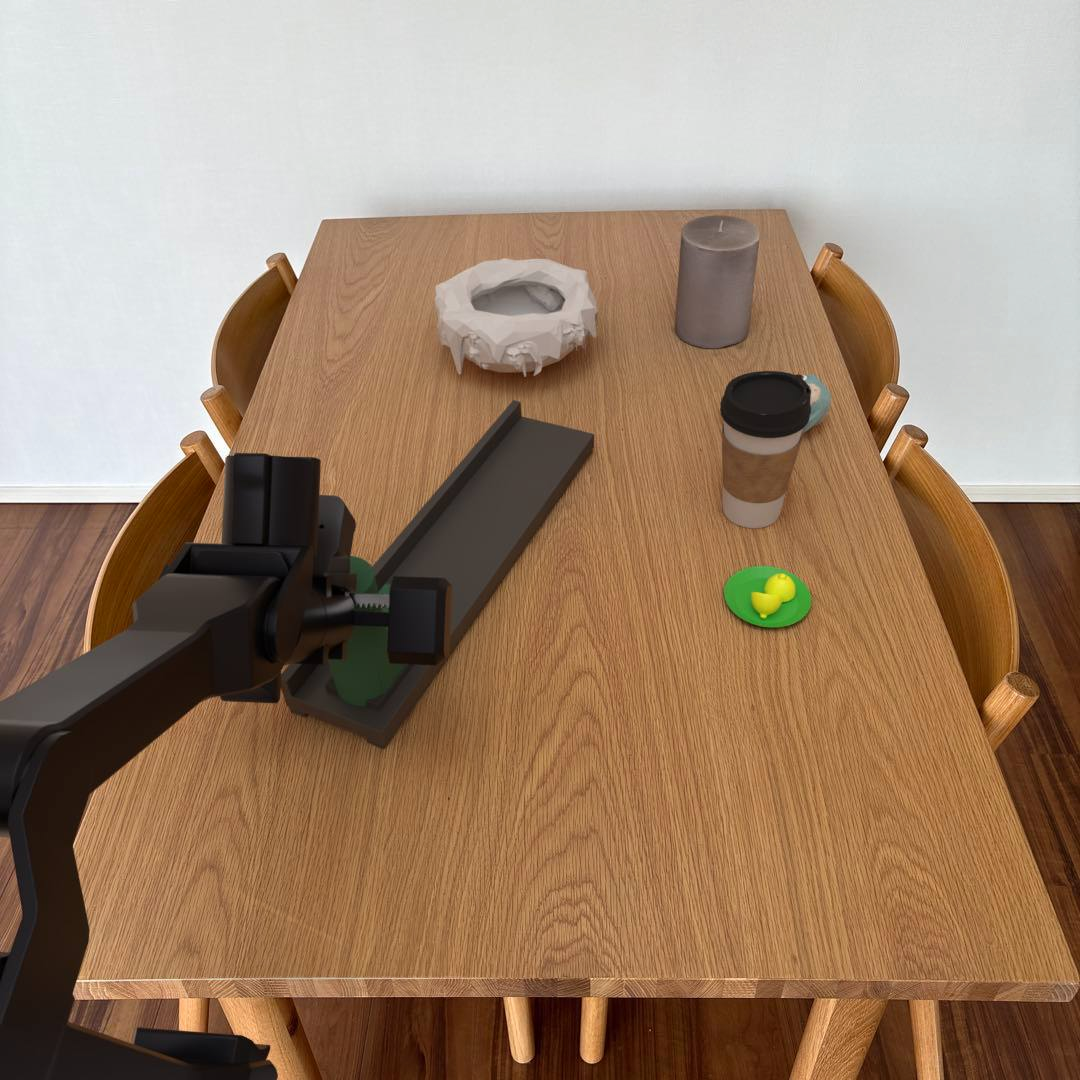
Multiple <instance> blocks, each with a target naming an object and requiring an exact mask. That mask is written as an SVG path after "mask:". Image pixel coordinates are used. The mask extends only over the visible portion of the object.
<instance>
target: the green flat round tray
mask: <svg viewBox="0 0 1080 1080" xmlns="http://www.w3.org/2000/svg"><path fill="white" fill-rule="evenodd" d="M723 595H724V600H725V602H726V604H727V606H728V608H729V609H730V610H731V611H732V613H733V614H735V615H736V616H737V617H738V618H740V619H742V620H743V621H744V622H747V623H749V624H752V625H756V626H759V627H762V628H763V627H765V628H782V627H788V626H791V625H793V624H796V623H798V622H800V621H801V620H802V619H804V617H806V616H807V614H808V612H810V609H811V606H812V596H811V592H810V590H809V588H808V586H807V585H806V583H804V582H803V580H802V579H800V578H799V577H798V576H797V575H795V574H793V573H791V572H789V571H787V570H786V569H783V568H779V567H775V566H767V565H756V566H755V565H754V566H750V567H745V568H743V569H741V570H739V571H737V572H735V573H733V575H732V576H730V577H729V579H728V580H727V581H726V584H725V586H724V593H723Z"/></svg>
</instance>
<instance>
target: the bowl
mask: <svg viewBox="0 0 1080 1080" xmlns="http://www.w3.org/2000/svg"><path fill="white" fill-rule="evenodd" d="M434 287H435V289H434V290H435V291H434V293H435V294H434V298H433V300H434V307H435V310H436V314H437V318H438V321H437V333H438V337H439V341H440V346H441V347H445V346H446V347H448V348H449V349H450V352H451V356H452V359H453V363H454V365H455V368H456V372H457V374H458V375H461V374H462V369H463V364H464V360H465V359H466V360H468V361H470V362H472V363H474V364H475V365H476V366H479V368H480V369H483V370H489V371H492V372H496V373H507V374H508V373H523V376H524V378H525V377H527V373H531V372H533V377H536V375H538V374H539V373H541V371H542V370H543V369H542V368H544V367H547V366H550V365H552V364H555V363H557V362H560V361H561V360H562V359H564V358H565V357H566V356H568V354H570V353H572V352H573V351H574V350H575V349H576V350H578V346H581V347H582V349H584V354H585V356H586V355H587V354H586V353H587V352H586V351H587V347H586V345H587V341H586V340H587V339H586V338H587V337H588V336H590V337H591V338H593V339H595V338H597V327H596V325H599V312H598V307H597V303H596V298H595V295H594V293H593V290H592V289H591V286H590V284H589V278H588V274H587V270H583V269H580V268H579V269H578V268H573V267H570V266H568V265H565V264H563V263H560V262H557V261H554V260H551V259H549V258H528V259H527V258H526V259H517V260H515V259H511V258H506V257H504V258H500V259H492V260H484V261H482V262H480V263H478V264H475V265H474V266H472V267H469V268H467V269H465V270H463V271H461V272H459V273H458V274H456V275H454V276H453V277H451V278H450V279H448V280H446V281H443V282H441V283H439V284H437V285H436V286H434Z"/></svg>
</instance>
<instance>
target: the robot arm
mask: <svg viewBox="0 0 1080 1080" xmlns="http://www.w3.org/2000/svg"><path fill="white" fill-rule="evenodd" d="M321 466H322V460H321V459H320V458H318V457H315V456H314V457H312V456H283V455H282V456H281V455H271V454H268V453H263V452H262V453H261V452H234V454H233V455H226V457H225V458H224V476H223V477H224V481H223V501H222V521H221V522H222V524H221V543H215V542H214V543H213V542H184V544H183V545H182V546H181V548H180V549H179V551H178V552H177V554H176V555H175V556H174V557H173V559H172V561H171V562H170V563H166V564H165V565H164V566H163V569H162V571H161V572H160V575H159V576H158V579H157V581H156V582H154V583H153V585H151V586H150V587H149V588H148V589H147V590H145V592H144V593H142V594H141V595H140V596H139V597H138V598H137V599H136V600H135V601H134V602H132V604H131V606H132V607H131V608H132V617H133V623H131V625H130V626H128V627H127V628H126V629H125V630H123V631H122V632H120V633H118V634H116V635H114V636H113V637H111V638H109V639H108V640H106V641H104V642H102V643H101V644H98V645H97V646H95V647H93V648H92V649H90V650H88V651H86V652H85V653H83V654H81V655H79V656H78V657H76V658H74V659H72V660H71V661H69V662H67V663H65V664H64V665H62V666H60V667H58V668H57V669H55V670H53V671H51V672H49V673H48V674H45V675H44V676H42V677H41V678H39V679H37V680H35V681H34V682H32V683H30V684H29V685H26V686H25V687H23V688H22V689H20V690H18V691H16V692H15V693H13V694H10V695H9V696H7V697H6V698H4V699H2V700H0V838H9V840H10V846H11V852H12V859H13V863H14V871H15V876H16V882H17V890H18V894H19V902H20V906H21V907H20V908H21V913H22V915H21V920H20V923H19V925H18V928H17V931H16V934H15V937H14V939H13V942H12V945H11V947H10V951H9V952H8V951H0V1080H278V1077H279V1074H278V1070H277V1068H276V1066H275V1064H274V1063H273V1062H272V1061H271V1060H270V1059H268V1057H269V1054H270V1053H271V1045H270V1044H262V1043H256V1042H254V1041H253V1039H251V1038H249V1037H247V1036H244V1035H243V1034H232V1033H229V1034H228V1033H218V1032H206V1031H205V1032H204V1031H192V1030H180V1029H166V1028H153V1027H141V1026H136V1028H135V1030H134V1033H133V1034H134V1035H133V1039H132V1043H131V1042H128V1041H125V1040H122V1039H120V1038H117V1037H114V1036H111V1035H108V1034H106V1033H103V1032H100V1031H97V1030H94V1029H91V1028H89V1027H87V1026H83V1025H80V1024H77V1023H74V1022H70V1021H69V1020H70V1018H71V1014H72V1010H73V1008H74V1004H75V1002H76V997H75V995H74V994H73V993H74V991H75V987H76V984H77V982H78V978H79V975H80V972H81V969H82V965H83V962H84V958H85V956H86V953H87V952H86V951H87V950H88V949H87V948H88V946H89V943H90V929H91V928H90V923H89V920H88V919H89V918H88V914H87V909H86V903H85V900H84V895H83V894H84V893H83V889H82V883H81V879H80V873H79V869H78V864H77V860H76V854H75V850H74V844H75V840H76V837H77V833H78V830H79V828H80V825H81V822H82V819H83V816H84V812H85V810H86V807H87V805H88V801H89V797H90V795H91V794H93V793H94V792H95V791H96V790H98V789H99V788H100V787H101V786H102V785H104V784H105V783H106V782H107V781H108V780H110V778H112V777H113V776H114V775H116V774H117V773H118V772H120V770H121V769H123V768H124V767H125V766H126V765H128V763H130V762H131V761H132V760H133V759H134V758H136V757H137V756H138V755H140V753H142V752H143V751H144V750H145V749H147V748H148V747H149V746H150V745H151V744H153V743H154V742H155V741H156V740H158V739H159V738H160V737H161V736H162V735H163V734H164V733H166V732H167V731H168V730H169V729H171V728H172V727H173V726H174V725H175V724H176V723H178V722H179V721H180V720H181V719H182V718H184V717H185V716H186V715H188V714H189V713H190V712H191V711H192V710H193V709H195V708H196V707H197V706H198V705H200V703H203V702H205V701H208V700H209V699H213V698H220V700H221V701H222V702H228V703H229V702H231V703H250V704H251V703H254V704H271V705H272V704H275V705H276V704H279V702H280V700H281V692H282V690H281V674H282V671H283V668H284V666H288V665H289V664H292V663H296V664H317V665H324V664H328V659H338V660H343V659H346V658H347V640H348V639H349V638H350V636H351V635H352V632H353V630H354V626H355V625H356V626H379V627H388V642H387V653H388V658H389V662H390V663H392V664H414V665H439V664H441V663H442V662H443V661H444V660H446V659H447V658H448V657H449V658H450V656H449V651H450V626H451V601H452V585H451V584H450V583H449V582H448V581H447V580H446V579H445V578H434V577H407V576H393V580H392V583H391V587H390V595H389V594H363V593H349V592H356V584H357V574H350V556H352V555H351V554H352V550H353V549H352V548H353V543H354V535H355V532H356V528H357V521H356V519H355V517H354V516H353V514H352V512H351V510H350V509H349V508H348V507H347V505H346V503H345V502H344V500H343V499H342V498H341V497H340V496H337V495H332V494H331V495H329V494H320V492H321V491H320V490H321ZM358 604H359V606H360V608H362V607H363V605H365V608H368V606H369V604H370V607H371V608H373V607H374V605H375V606H376V608H379V606H380V605H381V608H384V607H385V605H386V607H387V609H389V612H376V611H355V607H358ZM449 658H448V659H449ZM448 659H447V660H448ZM447 660H446V661H447Z"/></svg>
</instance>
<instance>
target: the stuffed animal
mask: <svg viewBox="0 0 1080 1080" xmlns="http://www.w3.org/2000/svg"><path fill="white" fill-rule="evenodd" d="M785 372H786V373H790V372H789V371H785ZM795 375H797V376H798V377H800V378H802V379H803V380H804V381H805V382H806V383H807V384H808V386H809V387H810V389H811V398H810V405H811V414H810V419H809V421H808V423H807V425H806V426H805V427H804V428H803V429H802V432H803V434H804V433H806V432H808V431H809V430H810V429H811V428H813V427H815V426H818V425H820V424H821V423H822V422H823V421H824V420H825V419H826V418H827V416H828V414H829V412H830V410H831V406H832V395H831V392H830V390H829V388H828V387H827V386H826V385H825V384H824V382H823V381H822V380H820V379H819V377H818V376H817V375H815V374H813V373H809V374H805V373H796V374H795Z"/></svg>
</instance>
